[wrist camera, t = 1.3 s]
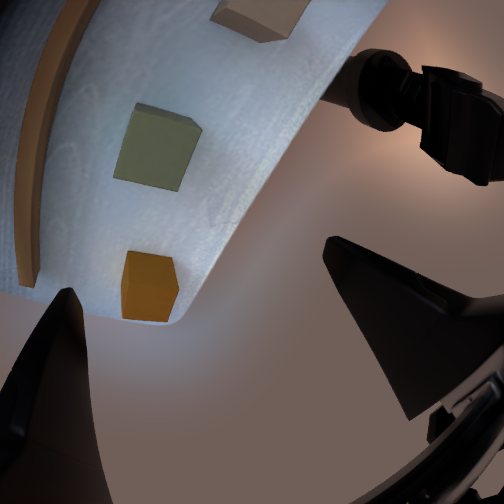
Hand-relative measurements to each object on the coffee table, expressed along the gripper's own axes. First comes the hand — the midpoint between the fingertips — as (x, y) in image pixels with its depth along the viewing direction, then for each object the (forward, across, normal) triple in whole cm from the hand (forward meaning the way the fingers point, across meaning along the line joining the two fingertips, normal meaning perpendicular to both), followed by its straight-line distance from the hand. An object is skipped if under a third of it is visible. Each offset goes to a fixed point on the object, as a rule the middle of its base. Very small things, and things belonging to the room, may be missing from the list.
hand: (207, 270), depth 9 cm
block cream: (+12, -5, -11) cm, 17 cm away
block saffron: (+12, +3, +10) cm, 16 cm away
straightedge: (+12, +8, -7) cm, 16 cm away
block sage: (+12, +1, -2) cm, 12 cm away
